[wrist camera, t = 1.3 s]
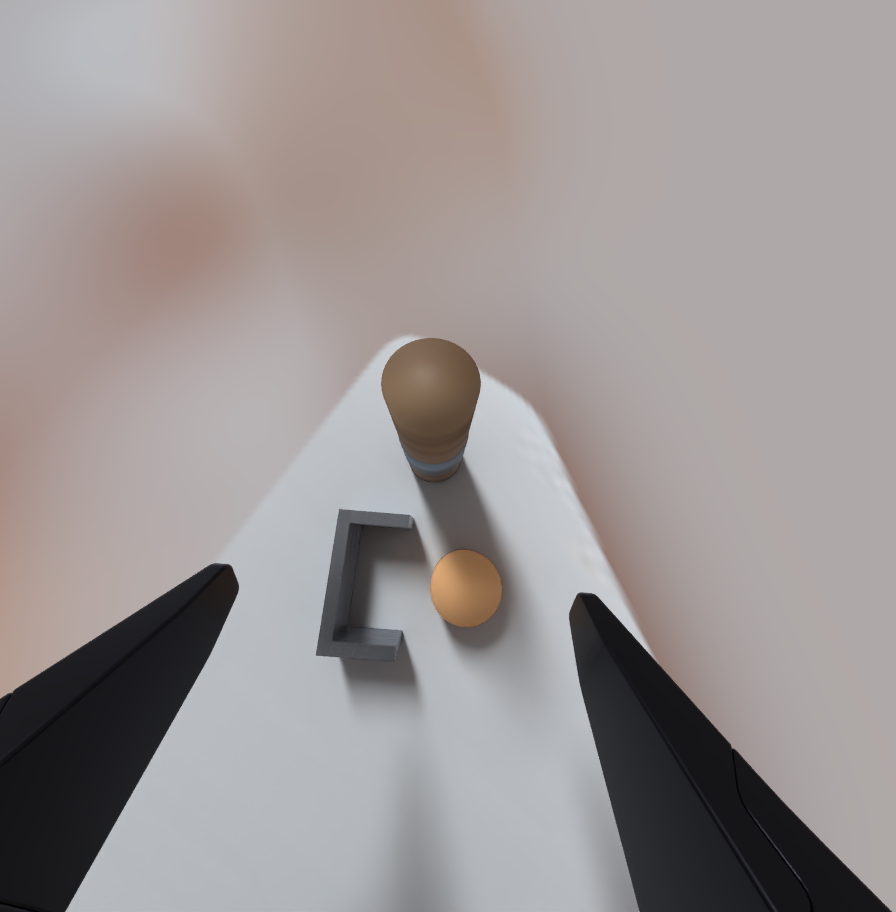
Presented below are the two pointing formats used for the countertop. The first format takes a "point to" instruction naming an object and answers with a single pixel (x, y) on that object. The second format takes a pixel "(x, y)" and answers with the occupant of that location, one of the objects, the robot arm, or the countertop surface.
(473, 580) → the tan rounded block
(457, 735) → the countertop surface
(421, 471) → the ball
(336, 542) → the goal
